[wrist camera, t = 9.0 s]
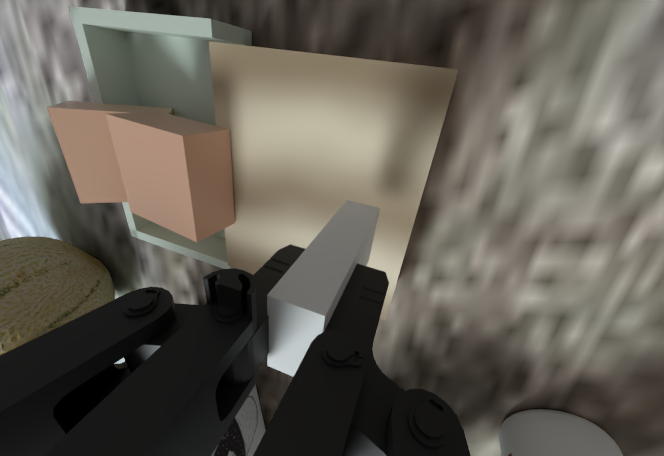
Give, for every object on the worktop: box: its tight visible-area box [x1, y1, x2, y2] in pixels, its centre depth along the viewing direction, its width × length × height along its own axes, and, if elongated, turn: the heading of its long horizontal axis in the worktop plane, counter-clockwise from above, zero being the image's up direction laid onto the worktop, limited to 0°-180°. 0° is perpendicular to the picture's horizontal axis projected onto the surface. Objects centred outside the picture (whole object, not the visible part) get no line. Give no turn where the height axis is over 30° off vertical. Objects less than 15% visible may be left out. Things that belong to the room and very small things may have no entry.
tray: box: [68, 6, 252, 269], centre depth 21 cm, size 16×10×4 cm, turn 173°
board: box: [209, 41, 459, 321], centre depth 17 cm, size 14×12×4 cm
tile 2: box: [47, 101, 174, 204], centre depth 19 cm, size 6×6×3 cm
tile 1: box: [106, 111, 235, 242], centre depth 17 cm, size 6×6×3 cm
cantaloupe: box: [0, 237, 115, 355], centre depth 30 cm, size 15×15×15 cm
